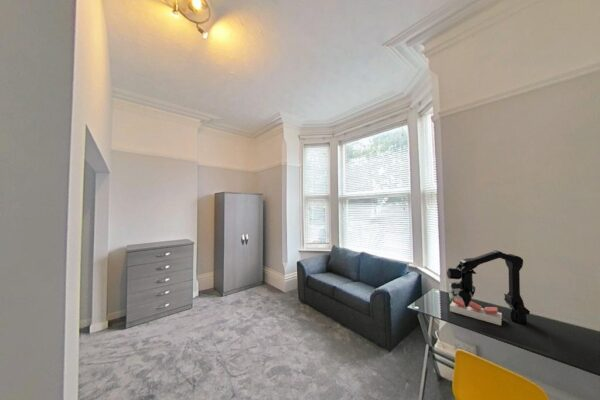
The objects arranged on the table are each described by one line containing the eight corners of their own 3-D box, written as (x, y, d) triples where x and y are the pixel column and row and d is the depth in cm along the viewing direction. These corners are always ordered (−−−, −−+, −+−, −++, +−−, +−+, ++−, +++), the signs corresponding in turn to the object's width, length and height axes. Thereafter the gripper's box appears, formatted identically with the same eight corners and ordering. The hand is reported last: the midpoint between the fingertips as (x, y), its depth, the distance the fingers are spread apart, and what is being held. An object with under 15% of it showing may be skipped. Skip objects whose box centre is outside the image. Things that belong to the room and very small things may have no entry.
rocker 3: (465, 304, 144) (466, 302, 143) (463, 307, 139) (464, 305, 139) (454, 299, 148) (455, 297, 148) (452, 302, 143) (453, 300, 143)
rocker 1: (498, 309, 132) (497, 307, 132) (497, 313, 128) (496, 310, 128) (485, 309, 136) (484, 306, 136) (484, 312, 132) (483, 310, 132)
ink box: (451, 302, 156) (450, 285, 157) (449, 299, 161) (448, 283, 161) (465, 303, 154) (464, 287, 154) (462, 300, 158) (462, 284, 159)
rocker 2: (480, 308, 138) (481, 305, 138) (479, 311, 133) (480, 309, 133) (469, 302, 142) (470, 300, 142) (467, 305, 138) (468, 303, 137)
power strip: (508, 321, 130) (508, 314, 130) (507, 327, 123) (507, 320, 123) (452, 306, 150) (452, 300, 150) (450, 311, 143) (449, 304, 143)
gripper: (454, 273, 150) (455, 296, 149) (448, 280, 137) (449, 305, 136) (475, 277, 142) (475, 301, 141) (470, 284, 129) (471, 311, 128)
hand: (467, 304), depth 137 cm, fingers open, 9 cm apart
